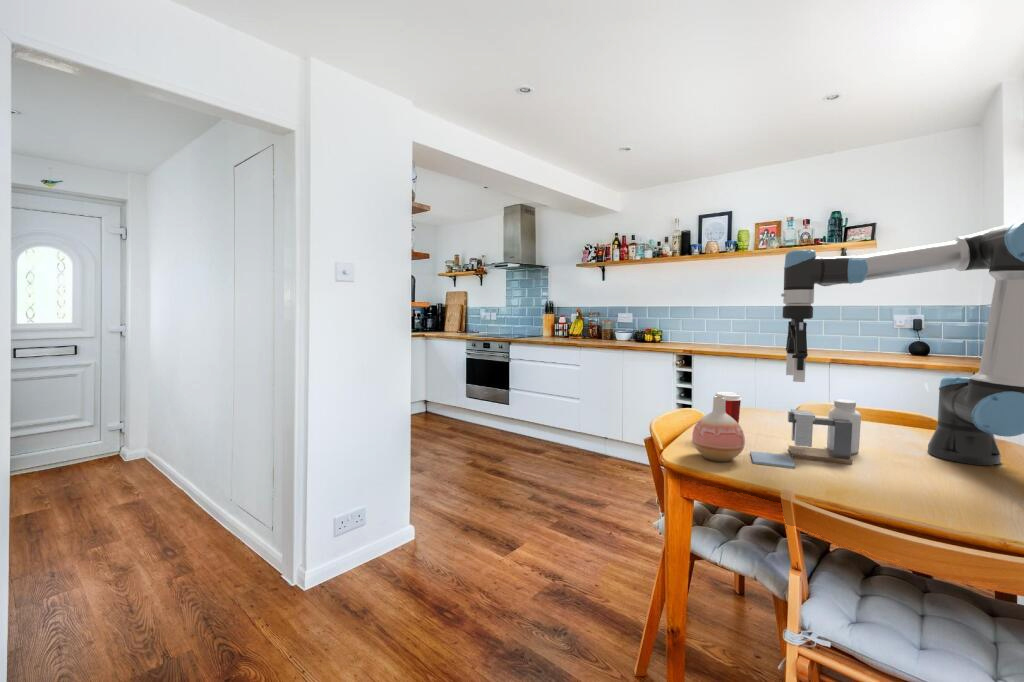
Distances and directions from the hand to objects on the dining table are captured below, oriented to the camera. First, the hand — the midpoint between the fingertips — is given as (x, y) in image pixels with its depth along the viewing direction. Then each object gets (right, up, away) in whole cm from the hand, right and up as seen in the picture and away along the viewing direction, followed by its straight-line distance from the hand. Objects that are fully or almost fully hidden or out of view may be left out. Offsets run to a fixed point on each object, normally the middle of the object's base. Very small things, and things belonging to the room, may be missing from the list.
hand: (794, 378), depth 138 cm
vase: (-24, -23, -3) cm, 33 cm away
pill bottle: (+17, -22, +5) cm, 28 cm away
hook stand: (+6, -22, -2) cm, 23 cm away
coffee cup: (-13, -21, +16) cm, 30 cm away
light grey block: (+2, -19, 0) cm, 19 cm away
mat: (-9, -23, -5) cm, 25 cm away
